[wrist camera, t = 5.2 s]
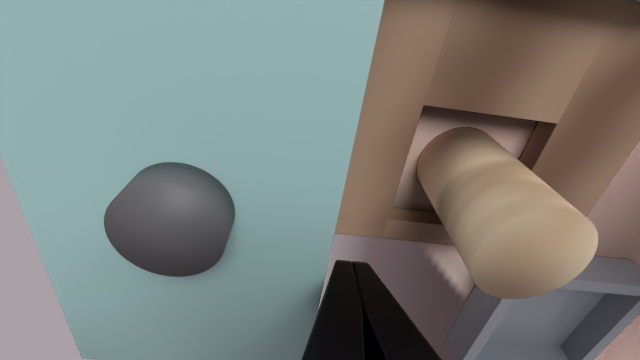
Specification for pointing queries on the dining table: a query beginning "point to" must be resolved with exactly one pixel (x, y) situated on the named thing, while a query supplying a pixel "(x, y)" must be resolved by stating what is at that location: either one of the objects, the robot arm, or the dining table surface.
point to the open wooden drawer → (497, 96)
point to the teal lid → (184, 164)
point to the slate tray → (551, 317)
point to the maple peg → (503, 216)
